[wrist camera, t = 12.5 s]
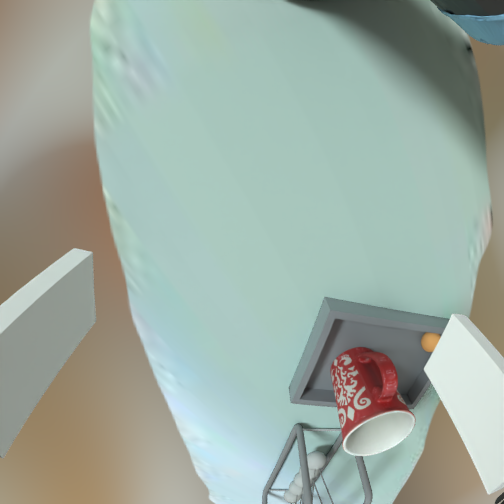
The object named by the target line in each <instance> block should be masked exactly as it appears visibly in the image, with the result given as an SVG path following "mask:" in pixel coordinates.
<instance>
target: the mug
mask: <svg viewBox="0 0 504 504" xmlns="http://www.w3.org/2000/svg"><path fill="white" fill-rule="evenodd" d="M330 373H331V379H332V384H333V389H334V394H335V399H336V404H337V409H338V414H339V420H340V425H341V431H342V437H343V442H342V446H343V449H344V450H345V451H346V452H347V453H349V454H351V455H355V456H368V455H373V454H377V453H381V452H383V451H386V450H388V449H390V448H392V447H394V446H396V445H397V444H399V443H400V442H401V441H403V440H404V439H405V438H406V437H407V436H408V435H409V434H410V433H411V431H412V430H413V428H414V426H415V422H416V419H415V416H414V414H413V413H412V412H410V411H409V409H408V407H407V405H406V404H405V402H404V400H403V398H402V397H401V395H400V393H399V392H398V390H397V387H398V375H397V371H396V368H395V366H394V364H393V362H392V360H391V359H390V358H389V357H388V356H387V355H385V354H383V353H380V352H374V351H372V350H371V349H369V348H365V347H356V348H352V349H349V350H347V351H345V352H343V353H341V354H340V355H339V356H338V357H337V358H336V359H335V360H334V362H333V363H332V365H331V369H330Z"/></svg>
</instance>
